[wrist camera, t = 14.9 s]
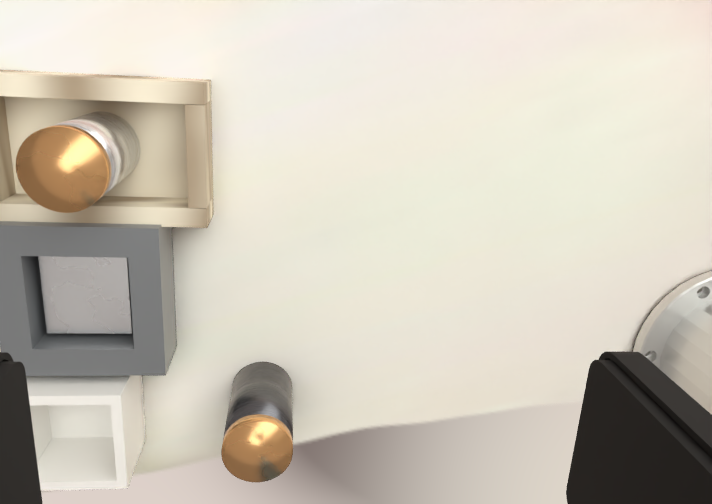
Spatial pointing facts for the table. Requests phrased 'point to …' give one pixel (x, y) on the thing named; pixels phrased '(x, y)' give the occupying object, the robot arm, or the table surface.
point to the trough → (155, 133)
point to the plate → (86, 294)
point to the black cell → (259, 423)
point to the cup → (86, 430)
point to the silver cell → (77, 160)
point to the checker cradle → (87, 350)
